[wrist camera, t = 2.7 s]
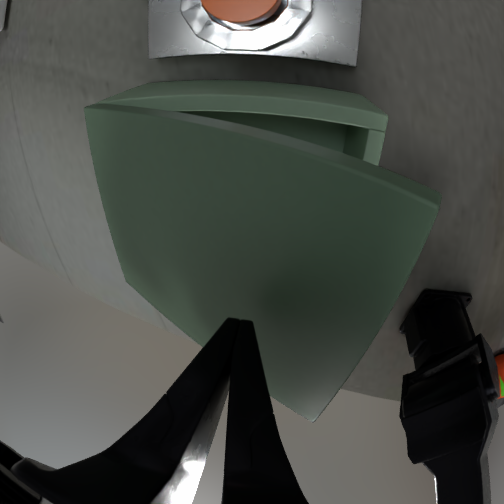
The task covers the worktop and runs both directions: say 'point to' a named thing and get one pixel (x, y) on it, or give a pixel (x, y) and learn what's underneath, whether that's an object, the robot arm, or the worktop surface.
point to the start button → (242, 10)
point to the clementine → (500, 372)
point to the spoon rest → (2, 13)
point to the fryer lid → (259, 238)
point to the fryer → (273, 110)
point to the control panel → (258, 31)
